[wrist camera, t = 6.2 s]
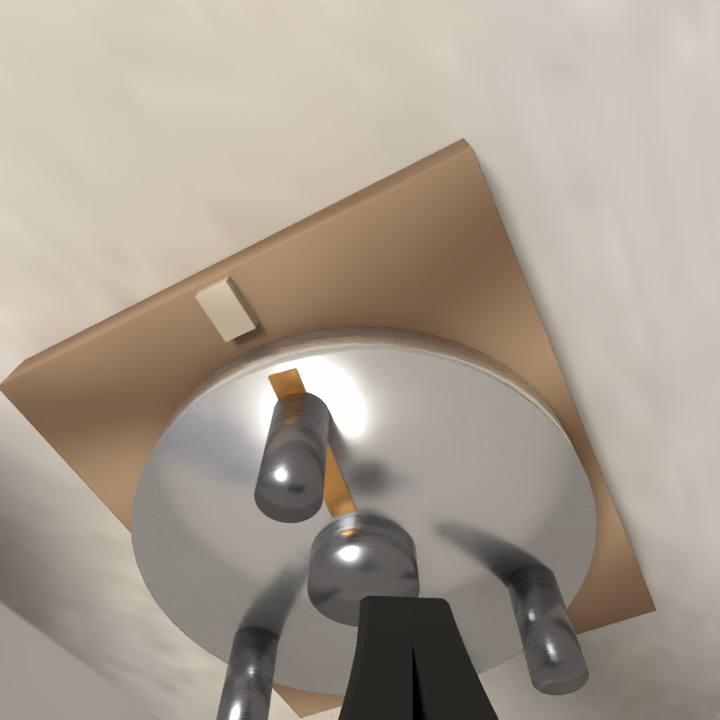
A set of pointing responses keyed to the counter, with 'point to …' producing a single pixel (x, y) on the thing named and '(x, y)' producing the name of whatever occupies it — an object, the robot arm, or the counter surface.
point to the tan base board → (315, 311)
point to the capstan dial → (363, 509)
